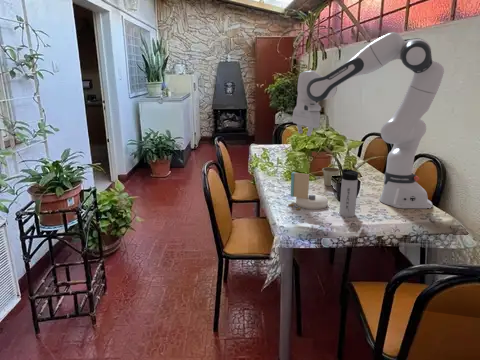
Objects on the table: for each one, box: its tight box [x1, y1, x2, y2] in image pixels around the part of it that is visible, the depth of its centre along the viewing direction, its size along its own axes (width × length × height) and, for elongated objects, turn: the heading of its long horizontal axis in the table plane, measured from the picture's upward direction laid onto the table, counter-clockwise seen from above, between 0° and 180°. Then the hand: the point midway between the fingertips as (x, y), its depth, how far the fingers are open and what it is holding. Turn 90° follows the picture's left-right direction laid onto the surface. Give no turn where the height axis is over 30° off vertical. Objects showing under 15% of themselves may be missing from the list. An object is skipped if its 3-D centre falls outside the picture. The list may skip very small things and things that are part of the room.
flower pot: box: [321, 166, 340, 187], centre depth 199 cm, size 9×9×9 cm
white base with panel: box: [290, 171, 329, 210], centre depth 165 cm, size 17×14×14 cm
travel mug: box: [338, 168, 359, 217], centre depth 152 cm, size 6×7×20 cm
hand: (304, 134), depth 181 cm, fingers open, 7 cm apart
